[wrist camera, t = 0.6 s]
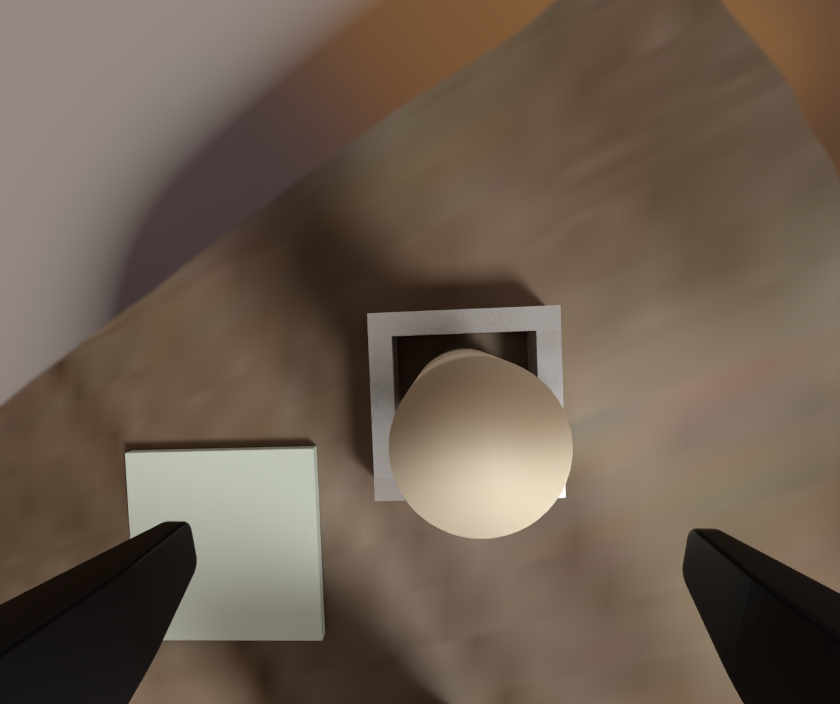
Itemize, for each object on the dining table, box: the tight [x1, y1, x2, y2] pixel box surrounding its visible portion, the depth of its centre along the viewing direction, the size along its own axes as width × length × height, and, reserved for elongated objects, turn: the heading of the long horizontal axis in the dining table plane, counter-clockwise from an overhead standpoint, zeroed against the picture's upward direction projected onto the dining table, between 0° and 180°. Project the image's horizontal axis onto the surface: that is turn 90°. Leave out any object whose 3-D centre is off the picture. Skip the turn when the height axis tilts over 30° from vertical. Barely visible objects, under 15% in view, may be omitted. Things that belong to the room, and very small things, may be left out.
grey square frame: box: [367, 305, 566, 501], centre depth 23 cm, size 10×10×2 cm
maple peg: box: [389, 348, 573, 539], centre depth 19 cm, size 6×6×11 cm
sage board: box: [125, 446, 325, 641], centre depth 25 cm, size 11×11×1 cm
